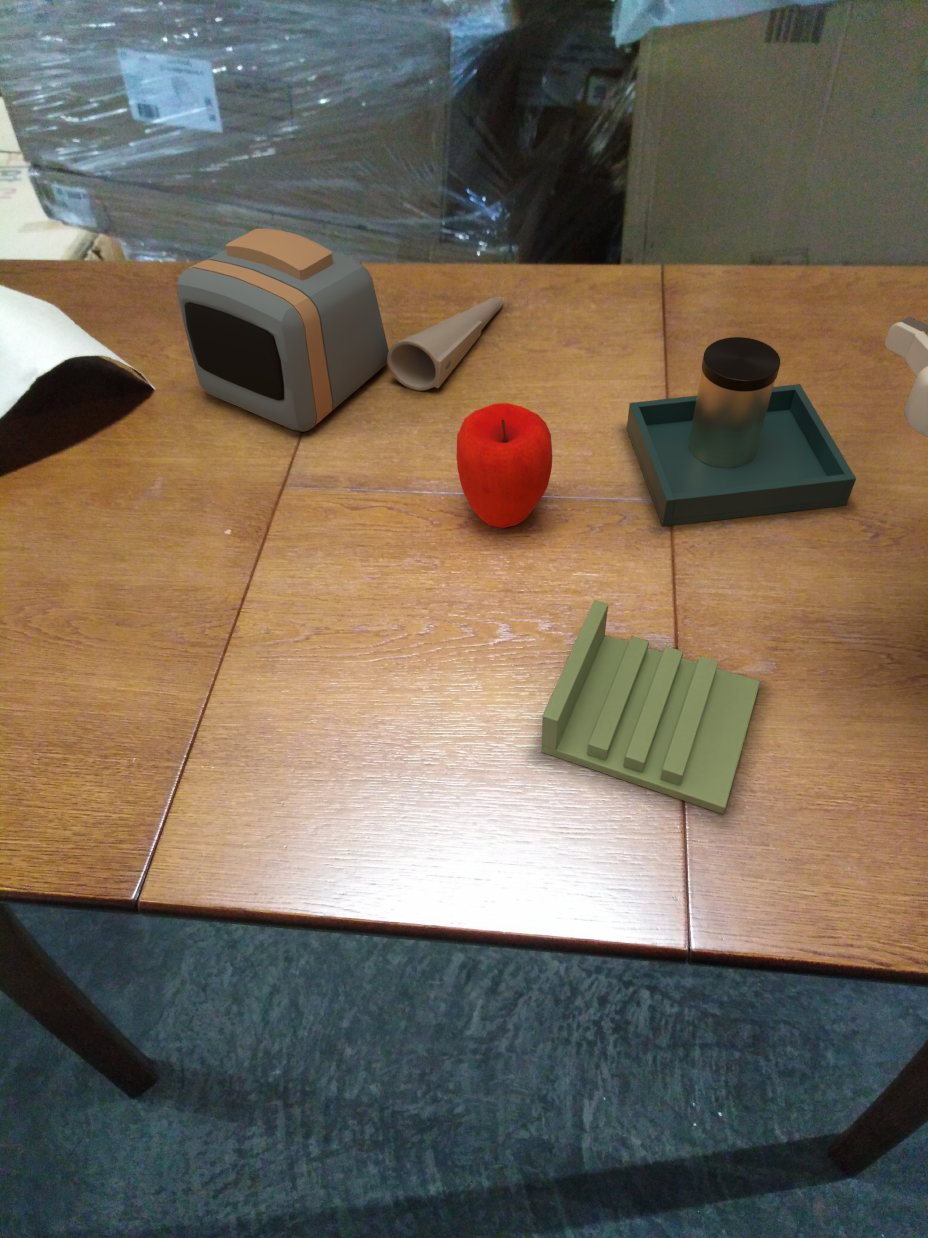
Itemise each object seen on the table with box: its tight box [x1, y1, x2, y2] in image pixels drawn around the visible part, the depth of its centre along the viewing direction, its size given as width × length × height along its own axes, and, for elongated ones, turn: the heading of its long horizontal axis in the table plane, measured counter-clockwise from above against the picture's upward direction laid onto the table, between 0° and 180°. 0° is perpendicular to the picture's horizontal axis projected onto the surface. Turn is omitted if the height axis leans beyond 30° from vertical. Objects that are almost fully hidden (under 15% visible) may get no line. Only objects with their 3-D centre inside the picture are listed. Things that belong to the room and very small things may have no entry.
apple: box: [456, 402, 553, 529], centre depth 82 cm, size 9×9×11 cm
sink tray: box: [626, 383, 857, 527], centre depth 87 cm, size 18×15×3 cm
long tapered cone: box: [387, 296, 504, 392], centre depth 103 cm, size 6×6×19 cm
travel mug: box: [689, 336, 781, 468], centre depth 85 cm, size 7×7×10 cm
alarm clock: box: [176, 228, 389, 433], centre depth 95 cm, size 16×16×16 cm
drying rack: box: [540, 599, 761, 814], centre depth 68 cm, size 14×12×5 cm
